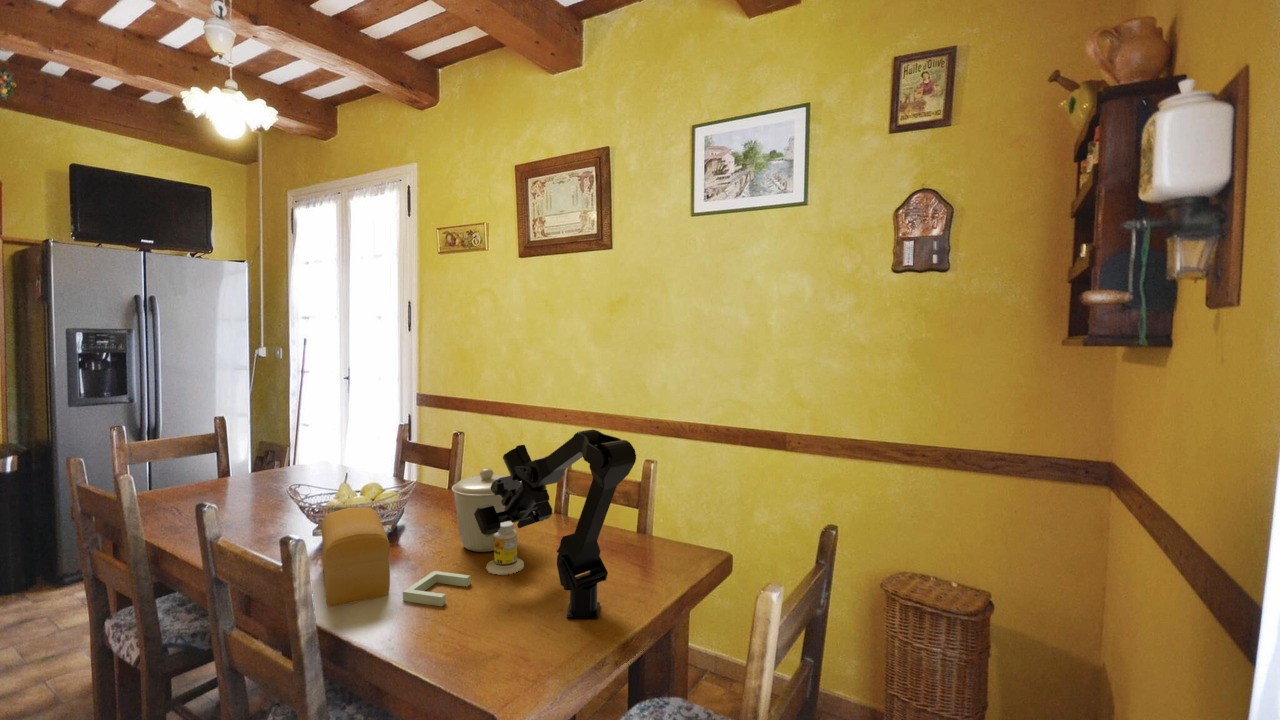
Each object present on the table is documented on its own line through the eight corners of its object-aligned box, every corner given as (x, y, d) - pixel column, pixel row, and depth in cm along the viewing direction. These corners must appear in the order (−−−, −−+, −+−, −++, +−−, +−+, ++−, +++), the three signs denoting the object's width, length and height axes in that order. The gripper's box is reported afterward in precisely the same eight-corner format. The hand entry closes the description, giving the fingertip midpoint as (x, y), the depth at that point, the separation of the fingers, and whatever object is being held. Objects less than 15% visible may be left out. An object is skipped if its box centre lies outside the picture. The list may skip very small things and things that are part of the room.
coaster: (520, 575, 143) (520, 571, 143) (482, 575, 143) (482, 571, 143) (526, 560, 152) (526, 557, 152) (491, 560, 152) (491, 557, 152)
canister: (533, 547, 161) (532, 470, 160) (468, 563, 150) (467, 480, 149) (503, 529, 175) (502, 458, 174) (442, 543, 164) (441, 466, 163)
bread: (391, 595, 132) (390, 528, 132) (325, 608, 126) (324, 538, 125) (378, 558, 154) (377, 500, 153) (321, 567, 147) (320, 507, 146)
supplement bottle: (491, 562, 149) (491, 522, 148) (513, 558, 151) (513, 518, 151) (497, 570, 144) (497, 529, 143) (520, 566, 147) (519, 525, 146)
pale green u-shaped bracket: (470, 584, 138) (470, 575, 138) (441, 606, 127) (441, 597, 127) (434, 579, 141) (434, 570, 141) (402, 600, 130) (402, 591, 130)
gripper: (545, 461, 150) (522, 496, 159) (477, 474, 137) (455, 510, 146) (564, 499, 145) (539, 533, 153) (495, 516, 132) (471, 551, 141)
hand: (502, 530), depth 148 cm, fingers open, 9 cm apart
